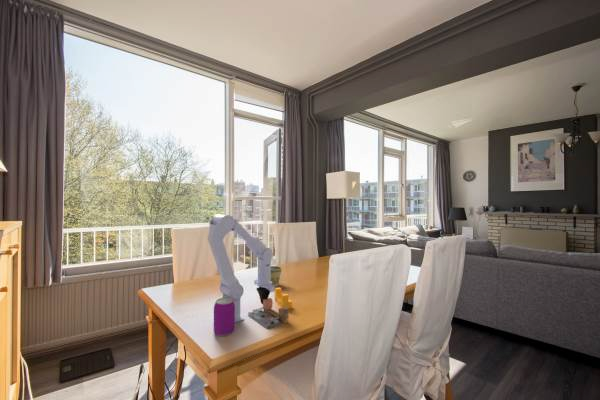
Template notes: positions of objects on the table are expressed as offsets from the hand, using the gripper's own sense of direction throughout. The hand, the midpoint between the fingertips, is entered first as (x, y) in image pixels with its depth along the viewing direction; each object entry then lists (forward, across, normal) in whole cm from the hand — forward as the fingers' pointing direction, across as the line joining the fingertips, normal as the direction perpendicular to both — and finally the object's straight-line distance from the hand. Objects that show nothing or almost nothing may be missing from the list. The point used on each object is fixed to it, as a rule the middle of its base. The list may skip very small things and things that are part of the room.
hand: (263, 303), depth 130 cm
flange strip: (+3, -9, +6) cm, 11 cm away
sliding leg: (+1, -3, +3) cm, 4 cm away
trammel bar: (+3, -9, +3) cm, 10 cm away
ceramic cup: (+3, +30, -24) cm, 39 cm away
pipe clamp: (+3, +1, -11) cm, 11 cm away
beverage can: (+3, -10, +23) cm, 25 cm away
